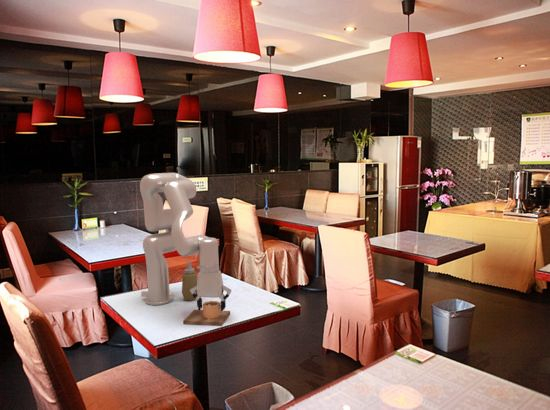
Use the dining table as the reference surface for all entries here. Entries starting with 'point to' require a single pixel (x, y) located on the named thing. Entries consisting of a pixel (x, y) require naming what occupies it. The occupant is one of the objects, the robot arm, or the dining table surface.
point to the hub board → (198, 318)
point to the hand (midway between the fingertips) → (211, 309)
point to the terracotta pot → (211, 309)
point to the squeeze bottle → (189, 282)
